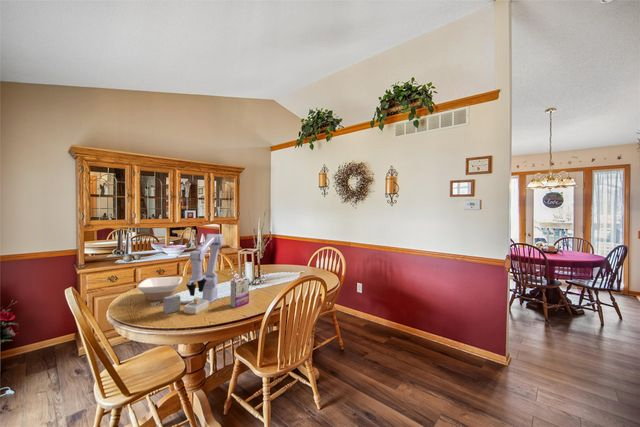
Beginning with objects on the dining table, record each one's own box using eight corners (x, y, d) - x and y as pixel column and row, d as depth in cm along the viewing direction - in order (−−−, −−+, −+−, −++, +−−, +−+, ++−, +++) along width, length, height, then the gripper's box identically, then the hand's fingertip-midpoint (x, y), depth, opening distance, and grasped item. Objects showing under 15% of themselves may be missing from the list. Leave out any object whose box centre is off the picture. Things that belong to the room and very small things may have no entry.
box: (197, 305, 170) (197, 299, 170) (208, 307, 169) (208, 300, 169) (183, 312, 159) (183, 306, 159) (195, 314, 157) (195, 307, 157)
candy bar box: (243, 301, 180) (244, 276, 180) (248, 303, 177) (249, 278, 177) (229, 306, 171) (230, 280, 170) (235, 308, 168) (236, 281, 167)
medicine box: (177, 308, 165) (177, 294, 165) (180, 310, 162) (180, 296, 162) (163, 312, 159) (163, 297, 159) (166, 314, 156) (166, 299, 156)
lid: (197, 301, 169) (197, 295, 169) (206, 302, 168) (206, 296, 168) (186, 307, 159) (186, 300, 159) (195, 308, 158) (195, 301, 158)
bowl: (177, 302, 175) (177, 285, 175) (133, 304, 168) (133, 287, 168) (184, 290, 198) (184, 276, 198) (146, 292, 191) (146, 277, 191)
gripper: (198, 267, 171) (198, 289, 171) (182, 273, 157) (182, 296, 157) (208, 268, 169) (208, 290, 170) (193, 274, 155) (192, 298, 156)
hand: (196, 293), depth 163 cm, fingers open, 7 cm apart
